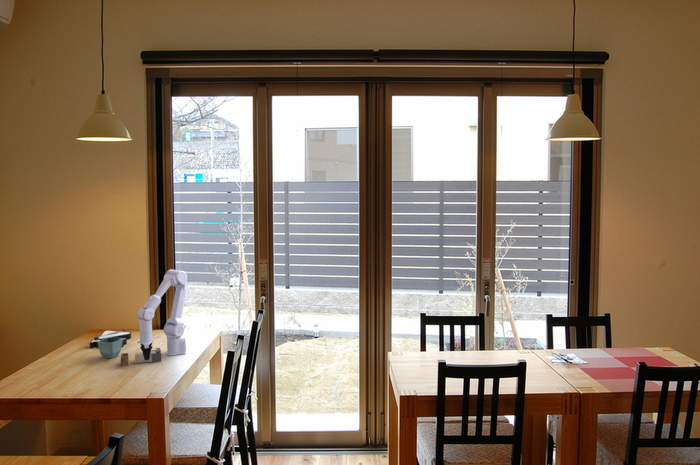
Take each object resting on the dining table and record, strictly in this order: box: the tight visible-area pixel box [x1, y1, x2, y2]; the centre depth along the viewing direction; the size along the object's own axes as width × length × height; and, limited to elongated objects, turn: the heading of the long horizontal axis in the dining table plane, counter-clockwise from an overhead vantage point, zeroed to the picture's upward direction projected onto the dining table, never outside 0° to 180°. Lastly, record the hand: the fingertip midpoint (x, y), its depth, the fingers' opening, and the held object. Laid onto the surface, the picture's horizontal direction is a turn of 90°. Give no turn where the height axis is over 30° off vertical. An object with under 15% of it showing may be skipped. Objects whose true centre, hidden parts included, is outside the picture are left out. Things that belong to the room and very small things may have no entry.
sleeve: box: [151, 347, 162, 363], centre depth 268 cm, size 4×6×5 cm
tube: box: [134, 350, 162, 364], centre depth 266 cm, size 12×4×4 cm, turn 112°
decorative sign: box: [89, 329, 132, 349], centre depth 302 cm, size 18×4×30 cm
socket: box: [120, 352, 129, 367], centre depth 262 cm, size 3×7×4 cm, turn 22°
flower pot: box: [97, 337, 123, 359], centre depth 274 cm, size 9×9×9 cm
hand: (146, 358), depth 266 cm, fingers closed on tube, 4 cm apart
